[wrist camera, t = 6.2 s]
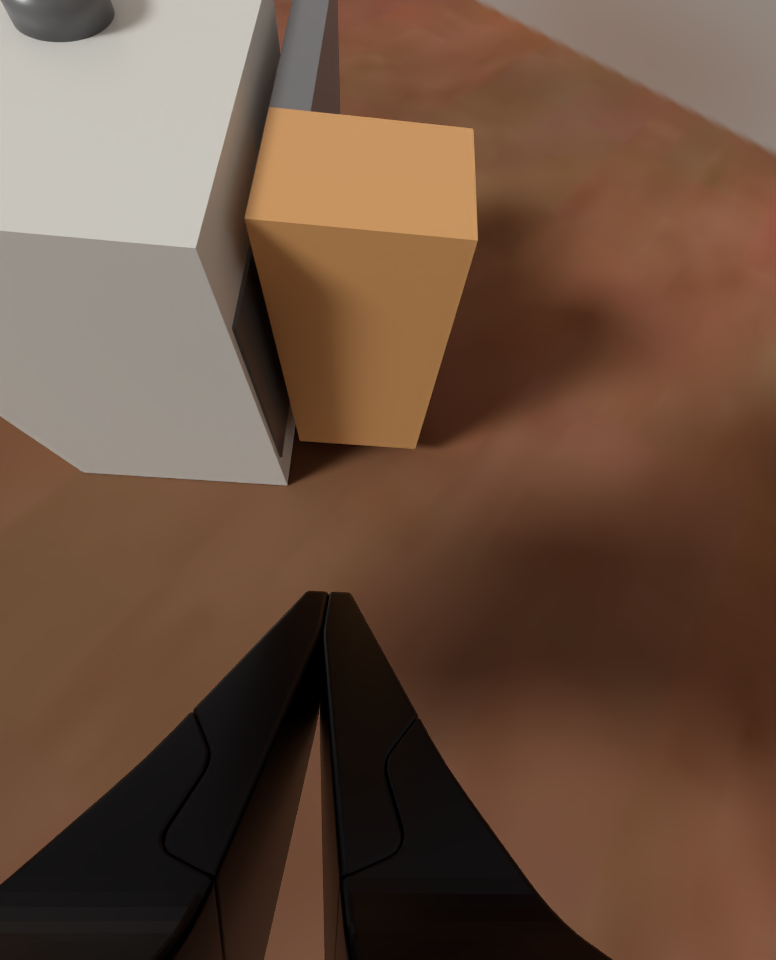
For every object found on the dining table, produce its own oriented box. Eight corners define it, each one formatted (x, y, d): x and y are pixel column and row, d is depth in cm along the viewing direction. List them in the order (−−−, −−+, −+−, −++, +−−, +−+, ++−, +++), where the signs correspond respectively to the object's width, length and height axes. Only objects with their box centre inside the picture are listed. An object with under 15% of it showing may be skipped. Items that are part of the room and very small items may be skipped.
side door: (415, 448, 16) (477, 240, 8) (299, 440, 16) (244, 218, 8) (419, 255, 19) (466, -28, 11) (324, 246, 19) (303, -49, 11)
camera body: (289, 485, 16) (187, 212, 6) (83, 472, 16) (-382, 158, 6) (317, 272, 20) (281, -116, 10) (150, 257, 19) (-64, -162, 9)
